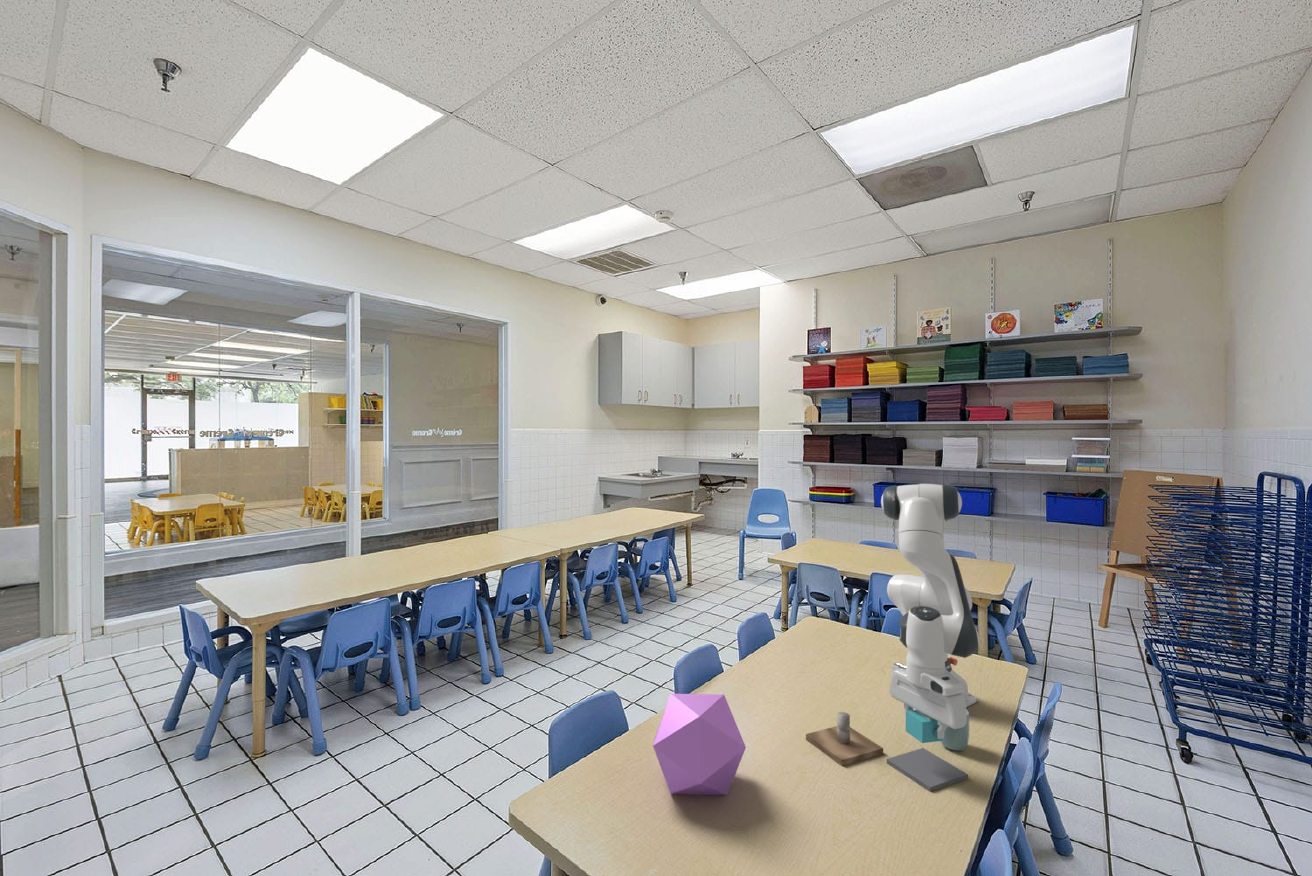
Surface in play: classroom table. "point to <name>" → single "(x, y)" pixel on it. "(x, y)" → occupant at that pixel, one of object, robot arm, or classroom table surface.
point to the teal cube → (921, 726)
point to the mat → (927, 769)
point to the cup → (956, 737)
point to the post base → (842, 749)
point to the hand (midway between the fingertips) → (925, 729)
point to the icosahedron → (698, 744)
